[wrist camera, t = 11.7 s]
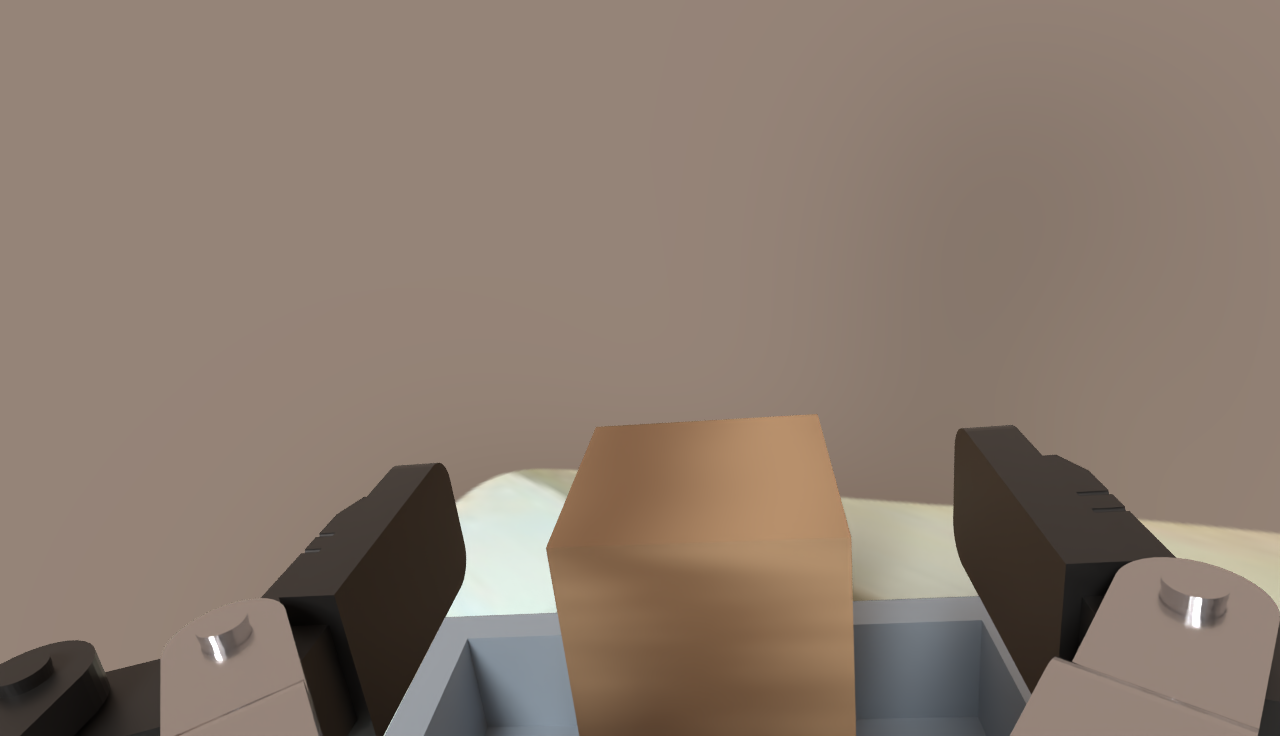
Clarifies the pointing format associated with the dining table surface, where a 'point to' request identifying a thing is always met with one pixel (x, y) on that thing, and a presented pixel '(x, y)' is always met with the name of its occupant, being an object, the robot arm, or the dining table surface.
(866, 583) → the dining table surface
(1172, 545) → the dining table surface
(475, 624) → the tray
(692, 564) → the walnut block
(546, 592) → the dining table surface
